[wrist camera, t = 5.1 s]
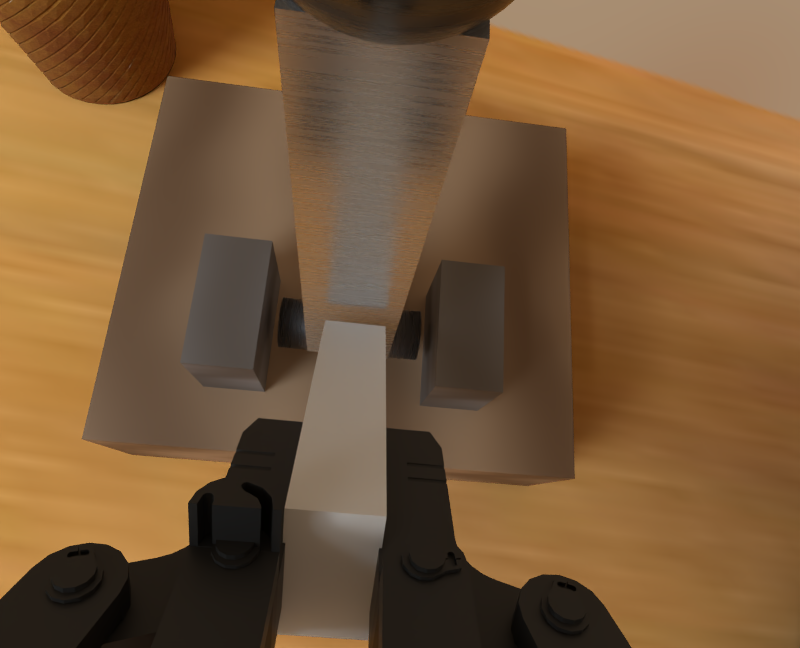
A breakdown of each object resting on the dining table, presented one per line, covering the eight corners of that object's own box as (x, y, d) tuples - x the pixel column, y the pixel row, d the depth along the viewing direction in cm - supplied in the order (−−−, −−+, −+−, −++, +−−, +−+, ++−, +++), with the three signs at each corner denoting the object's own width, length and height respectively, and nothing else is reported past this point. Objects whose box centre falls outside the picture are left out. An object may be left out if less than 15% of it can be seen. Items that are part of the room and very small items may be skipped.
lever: (275, 386, 19) (24, -408, 3) (290, 279, 20) (167, -643, 5) (411, 398, 19) (780, -259, 4) (417, 292, 21) (702, -519, 5)
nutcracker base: (132, 454, 23) (33, 424, 15) (197, 141, 28) (145, -3, 20) (527, 485, 25) (618, 472, 17) (527, 182, 29) (599, 62, 21)
